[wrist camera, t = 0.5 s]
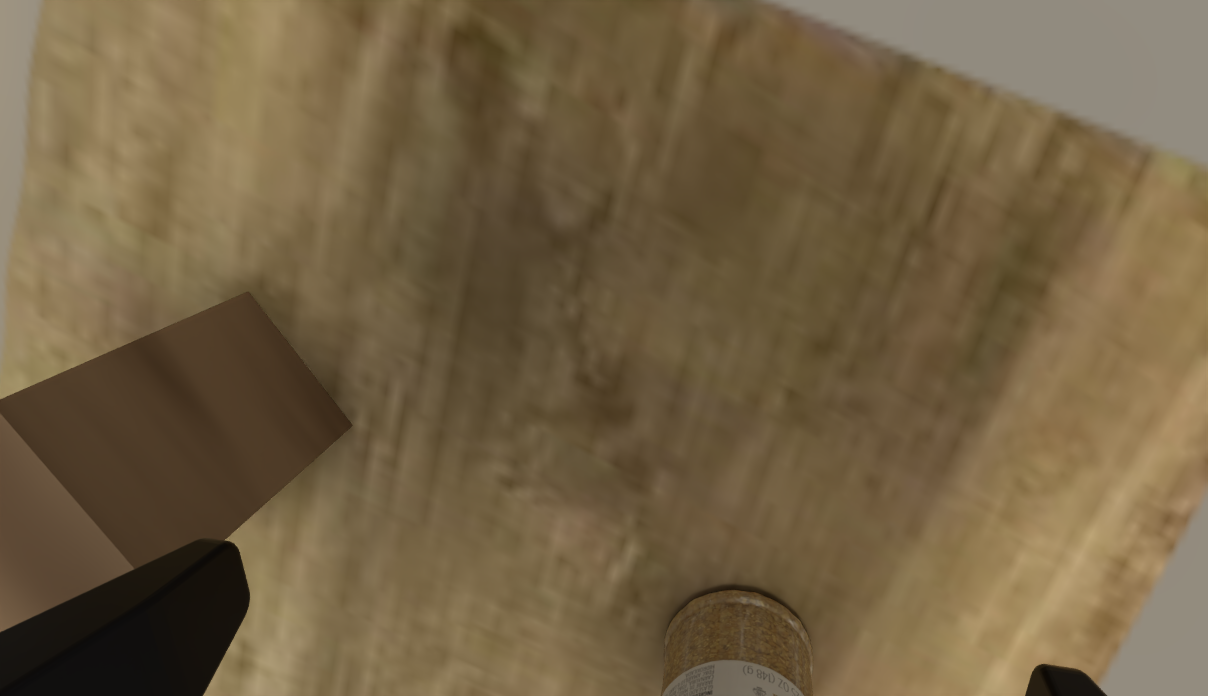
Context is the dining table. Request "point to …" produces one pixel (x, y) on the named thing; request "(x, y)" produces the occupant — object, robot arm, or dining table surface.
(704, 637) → the sprinkles bottle
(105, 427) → the walnut block
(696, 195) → the dining table surface
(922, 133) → the dining table surface
